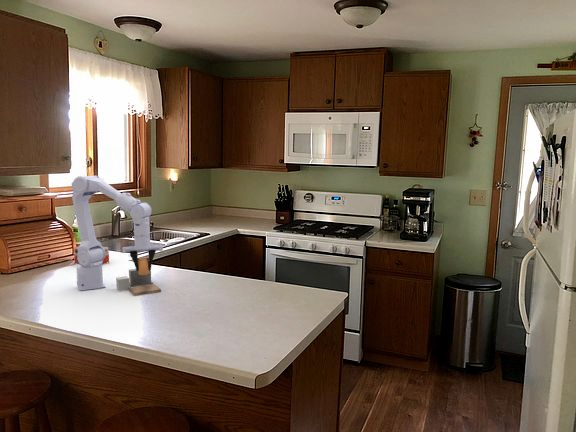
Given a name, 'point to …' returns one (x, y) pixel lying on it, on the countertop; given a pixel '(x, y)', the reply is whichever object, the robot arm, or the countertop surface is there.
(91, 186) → the robot arm
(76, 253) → the medicine box
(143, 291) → the mat
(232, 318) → the countertop surface
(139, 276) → the housing
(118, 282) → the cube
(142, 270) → the cylinder
